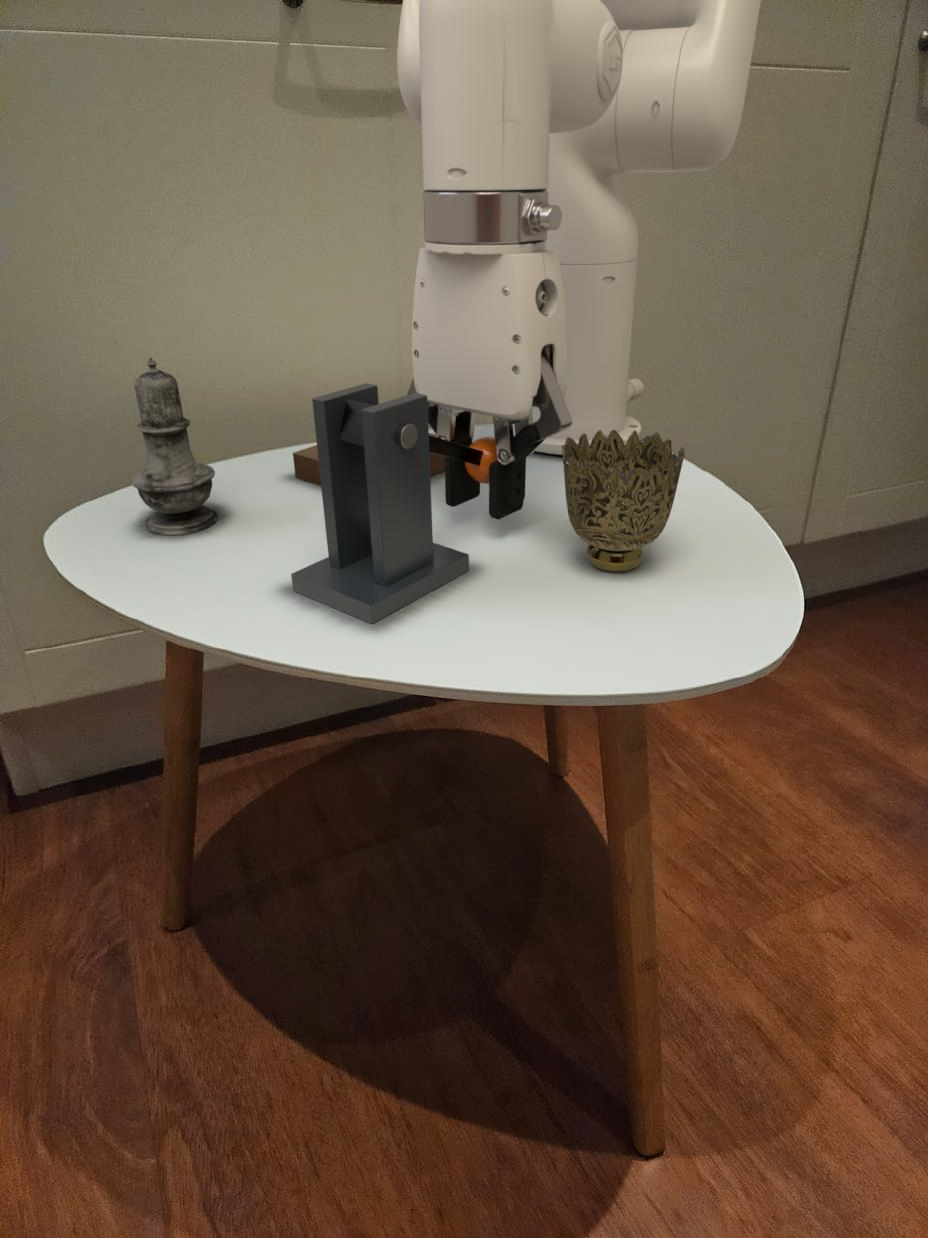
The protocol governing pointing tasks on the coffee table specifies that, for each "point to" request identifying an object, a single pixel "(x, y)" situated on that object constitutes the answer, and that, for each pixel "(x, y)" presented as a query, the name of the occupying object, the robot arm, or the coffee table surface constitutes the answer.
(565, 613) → the coffee table surface
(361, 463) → the switch bracket
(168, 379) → the salt shaker
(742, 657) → the coffee table surface
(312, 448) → the brown block
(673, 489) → the cup
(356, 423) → the switch lever
